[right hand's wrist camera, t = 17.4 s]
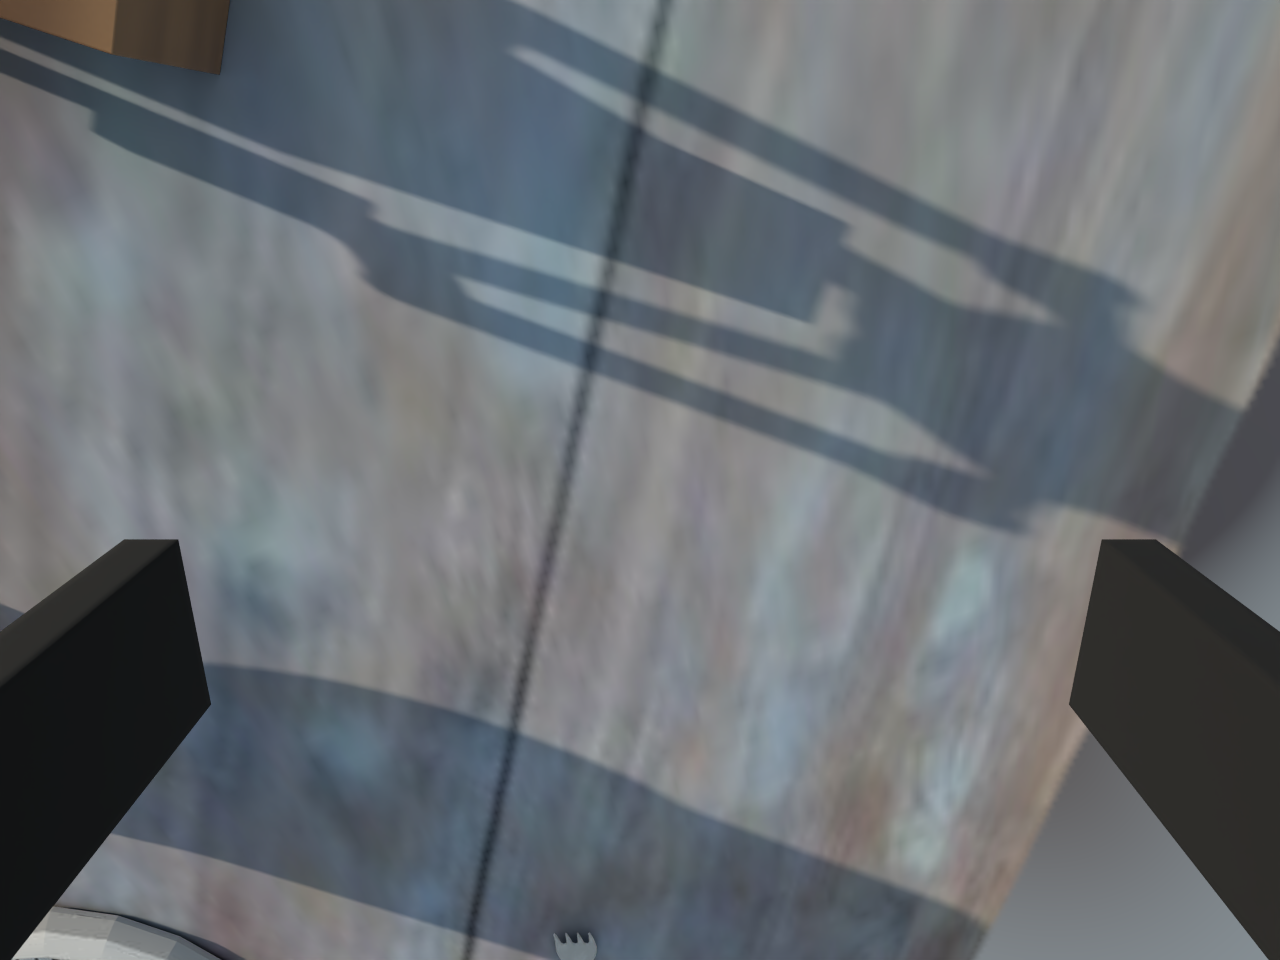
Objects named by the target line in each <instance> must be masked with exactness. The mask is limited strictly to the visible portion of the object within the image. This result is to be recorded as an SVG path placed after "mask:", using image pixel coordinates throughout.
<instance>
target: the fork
mask: <svg viewBox="0 0 1280 960" xmlns="http://www.w3.org/2000/svg"><path fill="white" fill-rule="evenodd" d="M588 935H589V942H588V943H585V942H584V941H583V939H582V937H581V936H580V934H579V933H578V932H577V939H578V942H577V943H573V942H572V940H571V938H570V937H569V936H568V934H567V933H565V936H566V943H562V942H561V941H560V939H559V938H558V936H557V935H556V934H555V933H553V936H554V939H555V946H556V952H557V954H558V956H559V958H560V960H594V959H595V956H596V953H597V945H596V943H595V941H594V938H593V936H592V935H591V933H590V932H589V933H588Z"/></svg>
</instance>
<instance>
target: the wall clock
mask: <svg viewBox="0 0 1280 960" xmlns="http://www.w3.org/2000/svg"><path fill="white" fill-rule="evenodd" d="M11 960H221V959H219V958H217V957H215V956H214V955H212V954H210V953H208V952H207V951H205V950H203V949H201V948H200V947H198V946H196V945H194V944H193V943H191V942H189V941H187V940H185V939H184V938H182V937H180V936H177V935H174V934H171V933H168V932H166V931H163V930H160V929H157V928H154V927H151V926H148V925H145V924H142V923H139V922H136V921H133V920H130V919H127V918H124V917H121V916H118V915H111V914H104V913H96V912H89V911H82V910H75V909H68V908H61V907H52V908H51V910H50V911H49V912H48V913H47V915H46V916H45V917H44V919H43V920H42V921H41V922H40V924H39V925H38V926H37V928H36V929H35V930H34V931H33V933H32V934H31V935H30V936H29V938H28V939H27V940H26V942H25V943H24V944H23V945H22V947H21V948H20V949H19V951H18V952H17V953H16V954H15V956H14V957H13V958H12V959H11Z"/></svg>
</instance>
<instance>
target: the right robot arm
mask: <svg viewBox="0 0 1280 960" xmlns="http://www.w3.org/2000/svg"><path fill="white" fill-rule="evenodd" d="M210 705H211V702H210V697H209V692H208V687H207V682H206V677H205V672H204V667H203V662H202V657H201V652H200V647H199V642H198V637H197V632H196V627H195V622H194V617H193V612H192V607H191V602H190V597H189V592H188V586H187V581H186V576H185V571H184V566H183V561H182V556H181V551H180V546H179V541H178V540H123V541H122V542H120V543H119V544H118V545H116V546H115V547H114V548H112V549H111V550H110V551H108V552H107V553H106V554H104V555H103V556H101V557H100V558H99V559H97V560H96V561H95V562H93V563H92V564H91V565H89V566H88V567H87V568H85V569H84V570H83V571H81V572H80V573H79V574H77V575H76V576H75V577H73V578H72V579H71V580H69V581H68V582H67V583H65V584H64V585H63V586H61V587H60V588H58V589H57V590H56V591H54V592H53V593H52V594H50V595H49V596H48V597H46V598H45V599H44V600H42V601H41V602H40V603H38V604H37V605H36V606H34V607H33V608H32V609H30V610H29V611H28V612H26V613H25V614H24V615H22V616H21V617H20V618H18V619H17V620H15V621H14V622H13V623H11V624H10V625H9V626H7V627H6V628H5V629H3V630H2V631H1V632H0V960H11V959H12V958H13V957H14V956H15V954H16V953H17V952H18V951H19V949H20V948H21V947H22V945H23V944H24V943H25V942H26V940H27V939H28V938H29V936H30V935H31V934H32V933H33V931H34V930H35V929H36V928H37V926H38V925H39V924H40V922H41V921H42V920H43V919H44V917H45V916H46V915H47V913H48V912H49V911H50V910H51V908H52V907H53V906H54V904H55V903H56V902H57V901H58V899H59V898H60V897H61V896H62V894H63V893H64V892H65V890H66V889H67V888H68V887H69V885H70V884H71V883H72V881H73V880H74V879H75V878H76V876H77V875H78V874H79V873H80V871H81V870H82V869H83V867H84V866H85V865H86V864H87V862H88V861H89V860H90V858H91V857H92V856H93V855H94V853H95V852H96V851H97V850H98V848H99V847H100V846H101V844H102V843H103V842H104V841H105V839H106V838H107V837H108V835H109V834H110V833H111V832H112V830H113V829H114V828H115V826H116V825H117V824H118V823H119V821H120V820H121V819H122V818H123V816H124V815H125V814H126V812H127V811H128V810H129V809H130V807H131V806H132V805H133V803H134V802H135V801H136V800H137V798H138V797H139V796H140V795H141V793H142V792H143V791H144V789H145V788H146V787H147V786H148V784H149V783H150V782H151V780H152V779H153V778H154V777H155V775H156V774H157V773H158V772H159V770H160V769H161V768H162V766H163V765H164V764H165V763H166V761H167V760H168V759H169V757H170V756H171V755H172V754H173V752H174V751H175V750H176V748H177V747H178V746H179V745H180V743H181V742H182V741H183V740H184V738H185V737H186V736H187V734H188V733H189V732H190V731H191V729H192V728H193V727H194V725H195V724H196V723H197V722H198V720H199V719H200V718H201V717H202V715H203V714H204V713H205V711H206V710H207V709H208V708H209V706H210ZM1069 705H1070V706H1071V708H1072V709H1073V710H1074V711H1075V713H1076V714H1077V715H1078V717H1079V718H1080V719H1081V720H1082V722H1083V723H1084V724H1085V725H1086V727H1087V728H1088V729H1089V731H1090V732H1091V733H1092V734H1093V736H1094V737H1095V738H1096V739H1097V741H1098V742H1099V743H1100V745H1101V746H1102V747H1103V748H1104V750H1105V751H1106V752H1107V754H1108V755H1109V756H1110V757H1111V759H1112V760H1113V761H1114V763H1115V764H1116V765H1117V766H1118V768H1119V769H1120V770H1121V772H1122V773H1123V774H1124V775H1125V777H1126V778H1127V779H1128V780H1129V782H1130V783H1131V784H1132V786H1133V787H1134V788H1135V789H1136V791H1137V792H1138V793H1139V794H1140V796H1141V797H1142V798H1143V800H1144V801H1145V802H1146V803H1147V805H1148V806H1149V807H1150V809H1151V810H1152V811H1153V812H1154V814H1155V815H1156V816H1157V818H1158V819H1159V820H1160V821H1161V823H1162V824H1163V825H1164V826H1165V828H1166V829H1167V830H1168V832H1169V833H1170V834H1171V835H1172V837H1173V838H1174V839H1175V841H1176V842H1177V843H1178V844H1179V846H1180V847H1181V848H1182V849H1183V851H1184V852H1185V853H1186V855H1187V856H1188V857H1189V858H1190V860H1191V861H1192V862H1193V863H1194V865H1195V866H1196V867H1197V869H1198V870H1199V871H1200V873H1201V874H1202V875H1203V876H1204V878H1205V879H1206V880H1207V881H1208V883H1209V884H1210V885H1211V887H1212V888H1213V889H1214V890H1215V892H1216V893H1217V894H1218V896H1219V897H1220V898H1221V899H1222V901H1223V902H1224V903H1225V904H1226V906H1227V907H1228V908H1229V910H1230V911H1231V912H1232V913H1233V915H1234V916H1235V917H1236V919H1237V920H1238V921H1239V922H1240V924H1241V925H1242V926H1243V928H1244V929H1245V930H1246V931H1247V933H1248V934H1249V935H1250V936H1251V938H1252V939H1253V940H1254V942H1255V943H1256V944H1257V945H1258V947H1259V948H1260V949H1261V951H1262V952H1263V953H1264V954H1265V956H1266V957H1267V958H1268V959H1269V960H1280V632H1279V631H1278V630H1277V629H1275V628H1274V627H1273V626H1271V625H1270V624H1269V623H1267V622H1266V621H1265V620H1263V619H1262V618H1260V617H1259V616H1258V615H1256V614H1255V613H1254V612H1252V611H1251V610H1250V609H1248V608H1247V607H1246V606H1244V605H1243V604H1242V603H1240V602H1239V601H1238V600H1236V599H1235V598H1234V597H1232V596H1231V595H1230V594H1228V593H1227V592H1226V591H1224V590H1223V589H1221V588H1220V587H1219V586H1217V585H1216V584H1215V583H1213V582H1212V581H1211V580H1209V579H1208V578H1207V577H1205V576H1204V575H1203V574H1201V573H1200V572H1199V571H1197V570H1196V569H1195V568H1193V567H1192V566H1191V565H1189V564H1188V563H1187V562H1185V561H1184V560H1183V559H1181V558H1180V557H1179V556H1177V555H1176V554H1174V553H1173V552H1172V551H1170V550H1169V549H1168V548H1166V547H1165V546H1164V545H1162V544H1161V543H1160V542H1158V541H1157V540H1102V541H1101V546H1100V551H1099V556H1098V561H1097V566H1096V571H1095V576H1094V581H1093V586H1092V592H1091V597H1090V602H1089V607H1088V612H1087V617H1086V622H1085V627H1084V632H1083V637H1082V642H1081V647H1080V652H1079V657H1078V662H1077V667H1076V672H1075V677H1074V682H1073V687H1072V692H1071V697H1070V702H1069Z"/></svg>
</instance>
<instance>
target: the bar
mask: <svg viewBox="0 0 1280 960" xmlns="http://www.w3.org/2000/svg"><path fill="white" fill-rule="evenodd" d="M229 3H230V0H0V18H2V19H5V20H8V21H12V22H15V23H18V24H21V25H24V26H27V27H30V28H33V29H36V30H39V31H42V32H45V33H48V34H51V35H54V36H57V37H60V38H63V39H66V40H69V41H72V42H75V43H78V44H81V45H85V46H88V47H91V48H94V49H97V50H100V51H103V52H106V53H109V54H112V55H117V56H123V57H128V58H133V59H138V60H144V61H149V62H154V63H159V64H165V65H170V66H175V67H180V68H186V69H191V70H196V71H201V72H207V73H212V74H217V75H219V74H220V68H221V61H222V54H223V47H224V39H225V32H226V25H227V18H228V10H229Z"/></svg>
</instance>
